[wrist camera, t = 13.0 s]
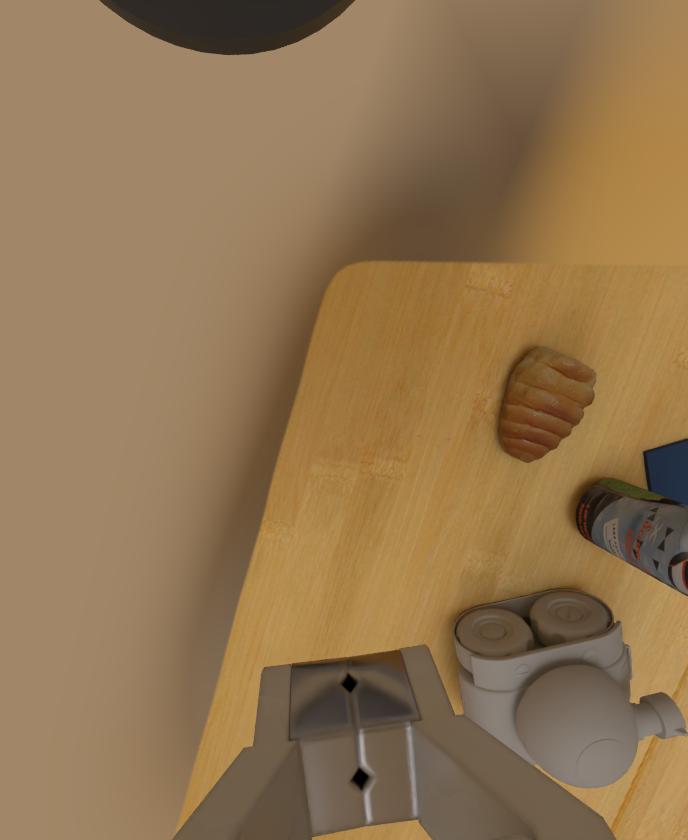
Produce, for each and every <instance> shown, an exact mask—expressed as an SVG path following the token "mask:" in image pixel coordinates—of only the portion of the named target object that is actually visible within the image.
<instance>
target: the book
mask: <svg viewBox="0 0 688 840" xmlns="http://www.w3.org/2000/svg"><path fill="white" fill-rule="evenodd" d="M643 453H644V460H645V467H646V474H647V481H648V489H649V491H650V492H653V493H656V494H658V495H661V496H664V497H667V498H669V499H672V500H675V501H678V502H680V503H683V504H686V505H688V439H685V440H682V441H678V442H675V443H672V444H668V445H665V446H662V447H658V448H655V449H652V450H648V451H645V452H643Z"/></svg>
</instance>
